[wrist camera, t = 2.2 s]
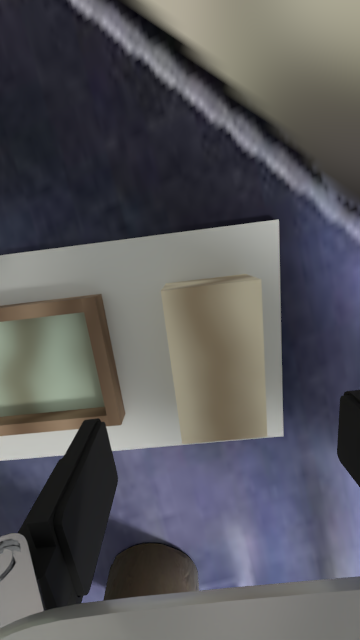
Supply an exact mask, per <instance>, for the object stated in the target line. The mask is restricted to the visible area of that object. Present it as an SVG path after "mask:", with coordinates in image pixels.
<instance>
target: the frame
mask: <svg viewBox="0 0 360 640" xmlns="http://www.w3.org/2000/svg"><path fill="white" fill-rule="evenodd" d="M124 416H125V409H124V404H123V399H122V394H121V389H120V384H119V379H118V374H117V369H116V364H115V359H114V354H113V349H112V344H111V339H110V334H109V329H108V324H107V319H106V314H105V309H104V304H103V299H102V294H95V295H86V296H78V297H70V298H61V299H53V300H44V301H36V302H27V303H19V304H11V305H2V306H0V436H8V435H19V434H30V433H41V432H52V431H63V430H74V429H79V428H80V426H81V424H82V422H83V421H84V420H87V419H97V418H99V419H100V420H101V422H105V424H106V426H117V425H122V422H123V419H124Z"/></svg>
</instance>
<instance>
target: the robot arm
mask: <svg viewBox="0 0 360 640" xmlns="http://www.w3.org/2000/svg"><path fill="white" fill-rule="evenodd" d="M337 454H338V457H339V460H340V462H341V463H342V464H343V466H344V467H345V468H346V470H347V471H348V472H349V474H350V475H351V476H352V478H353V479H354V480H355V482H356V483H357V484H358V486H359V487H360V390H355V391H346V392H345V393H344V396H341V398H340V411H339V429H338V447H337ZM117 482H118V476H117V471H116V466H115V462H114V458H113V454H112V449H111V445H110V441H109V437H108V432H107V428H106V424H105V422H101V420H100V419H99V418H97V419H87V420H84V421H83V422H82V424H81V426H80V428H79V430H78V432H77V433H76V435H75V437H74V439H73V441H72V442H71V444H70V446H69V448H68V450H67V451H66V453H65V455H64V457H63V458H62V459H60V460H59V462H58V463H57V465H56V466H55V468H54V470H53V472H52V473H51V475H50V477H49V479H48V480H47V482H46V484H45V486H44V488H43V489H42V491H41V493H40V495H39V496H38V498H37V500H36V502H35V503H34V505H33V507H32V509H31V511H30V512H29V514H28V516H27V518H26V519H25V521H24V523H23V525H22V526H21V528H20V530H19V532H18V533H11V534H7V535H4V536H2V537H0V640H360V577H348V578H336V579H324V580H313V581H301V582H290V583H279V584H268V585H257V586H245V587H234V588H223V589H213V590H202V591H192V592H182V593H171V594H161V595H150V596H140V597H131V598H122V599H114V600H106V601H97V602H89V603H81V602H82V598H83V595H87V594H88V593H89V590H90V587H91V583H92V580H93V576H94V572H95V568H96V564H97V560H98V556H99V553H100V549H101V545H102V541H103V537H104V533H105V530H106V526H107V522H108V518H109V514H110V510H111V506H112V503H113V499H114V495H115V491H116V487H117Z"/></svg>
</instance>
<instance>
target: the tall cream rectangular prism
mask: <svg viewBox="0 0 360 640" xmlns="http://www.w3.org/2000/svg"><path fill="white" fill-rule="evenodd" d="M161 297H162V304H163V311H164V318H165V325H166V332H167V339H168V347H169V354H170V361H171V368H172V375H173V382H174V389H175V396H176V403H177V411H178V418H179V425H180V432H181V439H182V444H191V443H203V442H214V441H226V440H237V439H249V438H260V437H268V436H267V411H266V386H265V360H264V335H263V309H262V284H261V279H259V278H256V277H253V276H250V275H248V274H240V275H232V276H224V277H215V278H207V279H198V280H190V281H182V282H173V283H166V284H165V285H164V287H163V288H162V290H161Z"/></svg>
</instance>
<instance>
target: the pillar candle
mask: <svg viewBox="0 0 360 640" xmlns="http://www.w3.org/2000/svg"><path fill="white" fill-rule="evenodd" d="M198 586H199V583H198V571H197V568H196V566H195V564H194V563H193V561H192V560H191V559H190V558H189V557H188V556H187V555H186V554H184V553H183V552H181V551H179V550H176V549H174V548H171V547H168V546H165V545H163V544H157V543H155V544H153V543H148V544H144V543H143V544H141V545H140V544H139V545H136V546H133V547H130V548H128V549H127V550H125V551H123V552H121V553H120V554H118V555H117V556H116V559H115V560H114V563H113V564H112V566H111V568H110V572H109V576H108V581H107V586H106V590H105V596H104V600H103V601H106V600H114V599H122V598H131V597H140V596H150V595H161V594H171V593H182V592H192V591H199V588H198Z"/></svg>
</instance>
